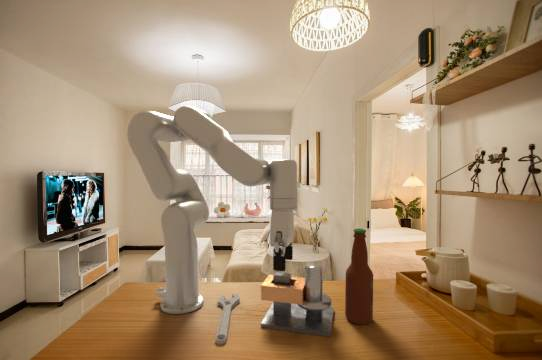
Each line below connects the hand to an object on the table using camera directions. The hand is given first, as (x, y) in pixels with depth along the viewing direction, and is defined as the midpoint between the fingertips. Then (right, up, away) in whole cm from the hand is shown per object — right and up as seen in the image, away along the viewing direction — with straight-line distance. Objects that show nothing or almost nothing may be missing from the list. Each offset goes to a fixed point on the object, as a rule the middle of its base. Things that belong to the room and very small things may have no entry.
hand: (283, 264), depth 83 cm
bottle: (+21, -15, -1) cm, 26 cm away
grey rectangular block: (0, -14, 0) cm, 14 cm away
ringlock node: (+4, -15, 0) cm, 15 cm away
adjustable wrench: (-17, -15, +1) cm, 23 cm away
